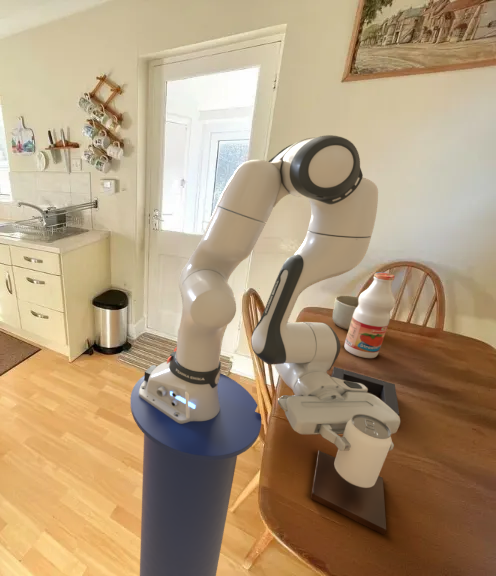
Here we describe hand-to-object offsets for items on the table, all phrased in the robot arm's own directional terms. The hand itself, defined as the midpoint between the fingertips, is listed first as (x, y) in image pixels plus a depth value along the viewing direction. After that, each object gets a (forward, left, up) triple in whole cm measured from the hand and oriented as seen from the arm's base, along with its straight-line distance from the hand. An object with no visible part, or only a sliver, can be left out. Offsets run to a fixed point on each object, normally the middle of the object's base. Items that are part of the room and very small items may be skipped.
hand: (367, 448), depth 56 cm
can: (-1, +1, -8) cm, 8 cm away
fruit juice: (+1, +64, -12) cm, 65 cm away
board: (-1, +1, -12) cm, 12 cm away
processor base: (+1, +35, -12) cm, 37 cm away
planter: (-3, +83, -12) cm, 84 cm away
